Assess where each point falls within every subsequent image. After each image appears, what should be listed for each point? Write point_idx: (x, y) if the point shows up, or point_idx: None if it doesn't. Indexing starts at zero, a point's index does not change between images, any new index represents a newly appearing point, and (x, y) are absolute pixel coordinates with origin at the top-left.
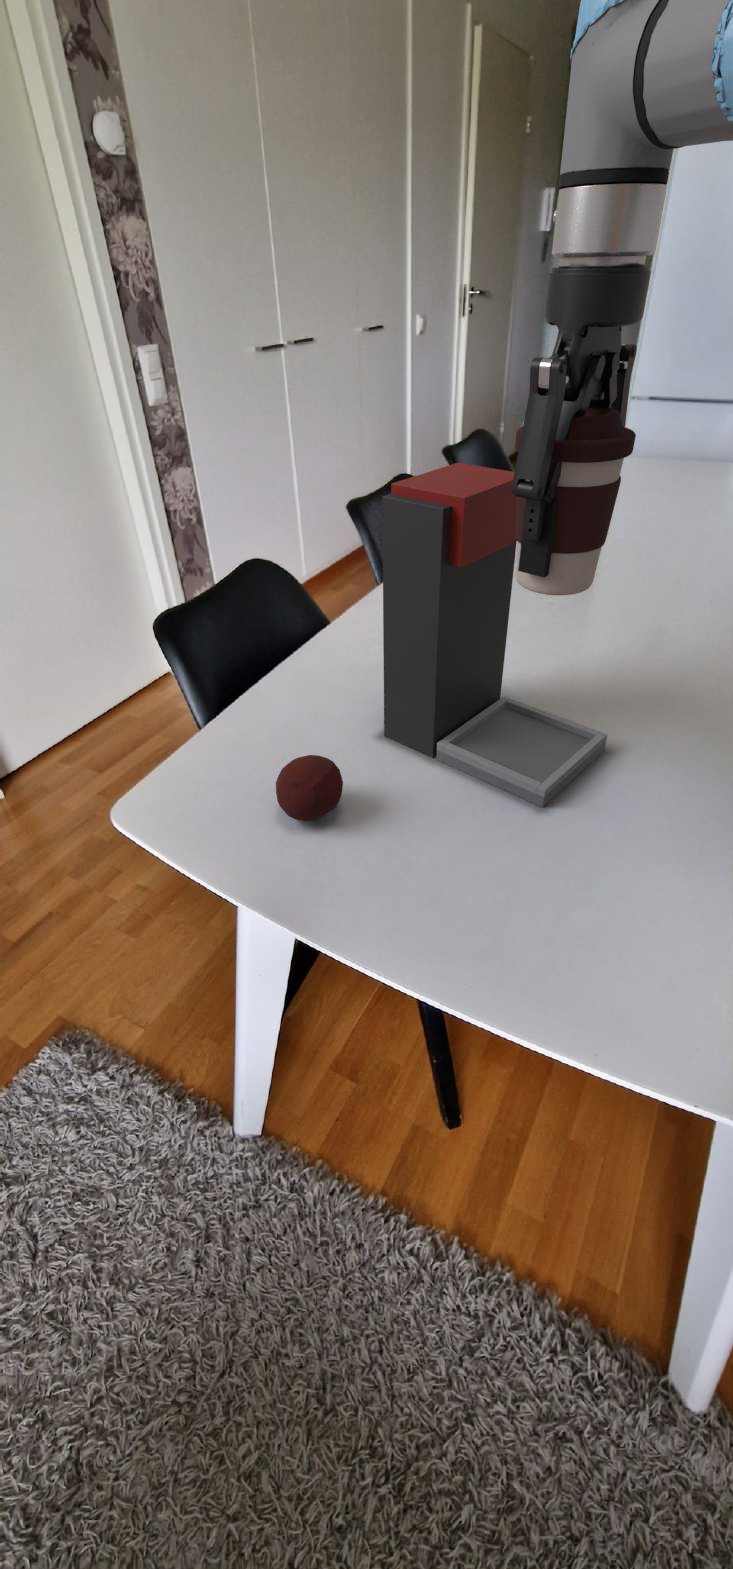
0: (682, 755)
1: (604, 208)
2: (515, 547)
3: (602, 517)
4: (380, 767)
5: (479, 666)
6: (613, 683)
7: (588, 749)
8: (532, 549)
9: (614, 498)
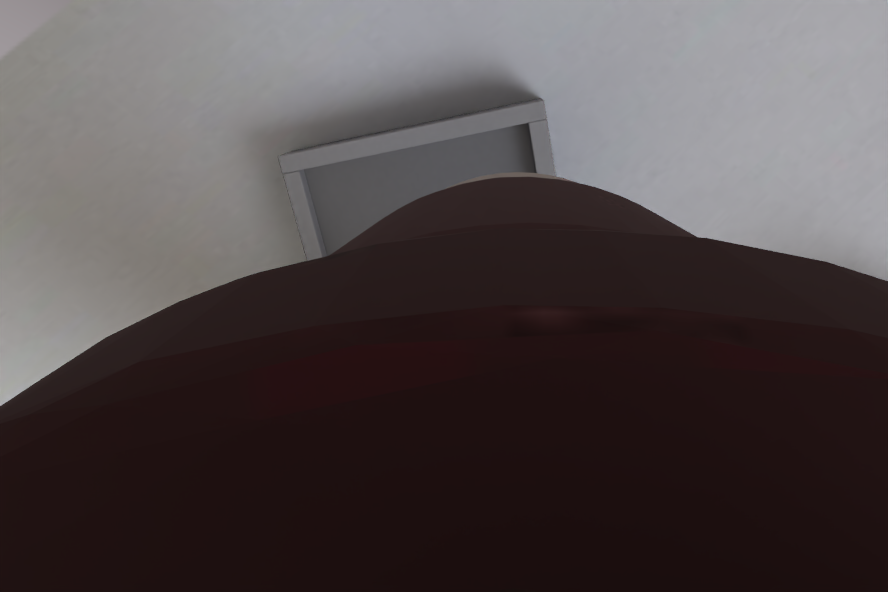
0: (166, 33)
1: None
2: None
3: (536, 193)
4: None
5: None
6: (77, 308)
7: (356, 143)
8: None
9: (400, 227)
